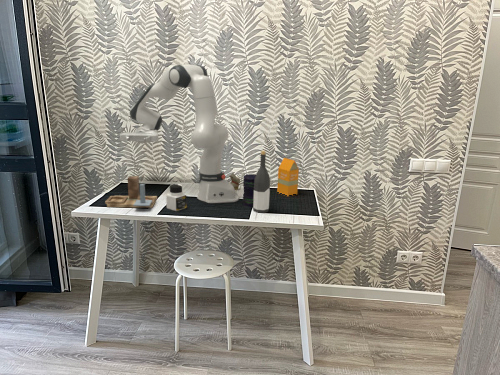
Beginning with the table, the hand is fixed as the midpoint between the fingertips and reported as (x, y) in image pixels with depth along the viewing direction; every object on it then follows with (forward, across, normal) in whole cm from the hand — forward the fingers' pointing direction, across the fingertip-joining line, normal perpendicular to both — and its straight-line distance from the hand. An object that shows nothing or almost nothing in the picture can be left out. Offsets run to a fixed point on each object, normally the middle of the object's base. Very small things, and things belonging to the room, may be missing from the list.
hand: (136, 139), depth 215 cm
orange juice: (-5, +82, +30) cm, 87 cm away
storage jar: (+15, +61, +30) cm, 70 cm away
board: (+15, 0, +30) cm, 34 cm away
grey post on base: (+24, +7, +27) cm, 37 cm away
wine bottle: (+24, +65, +30) cm, 76 cm away
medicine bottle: (+22, +23, +30) cm, 44 cm away
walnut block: (+12, 0, +28) cm, 31 cm away
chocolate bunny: (-11, +51, +30) cm, 60 cm away
